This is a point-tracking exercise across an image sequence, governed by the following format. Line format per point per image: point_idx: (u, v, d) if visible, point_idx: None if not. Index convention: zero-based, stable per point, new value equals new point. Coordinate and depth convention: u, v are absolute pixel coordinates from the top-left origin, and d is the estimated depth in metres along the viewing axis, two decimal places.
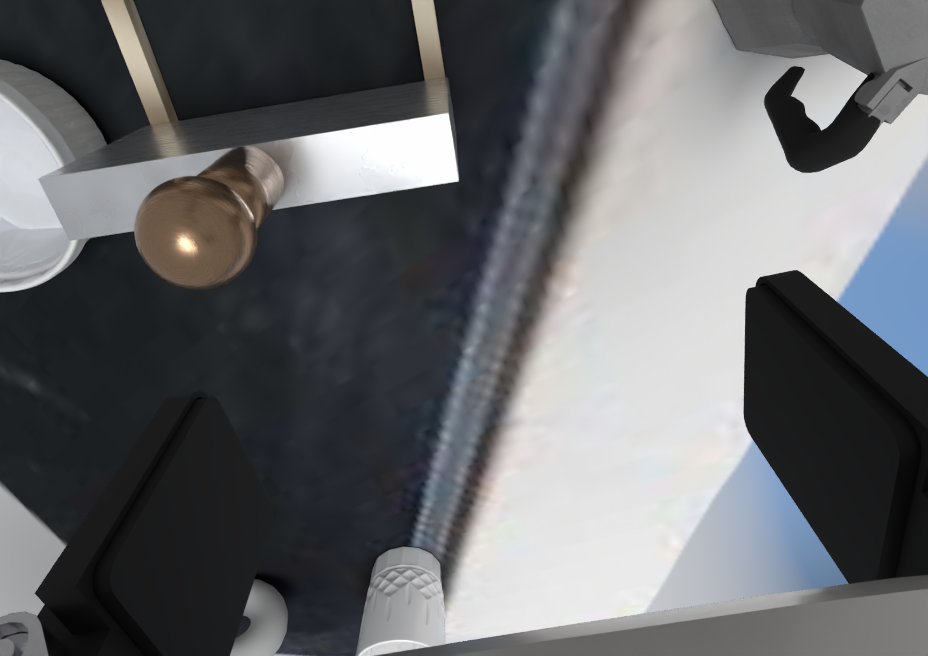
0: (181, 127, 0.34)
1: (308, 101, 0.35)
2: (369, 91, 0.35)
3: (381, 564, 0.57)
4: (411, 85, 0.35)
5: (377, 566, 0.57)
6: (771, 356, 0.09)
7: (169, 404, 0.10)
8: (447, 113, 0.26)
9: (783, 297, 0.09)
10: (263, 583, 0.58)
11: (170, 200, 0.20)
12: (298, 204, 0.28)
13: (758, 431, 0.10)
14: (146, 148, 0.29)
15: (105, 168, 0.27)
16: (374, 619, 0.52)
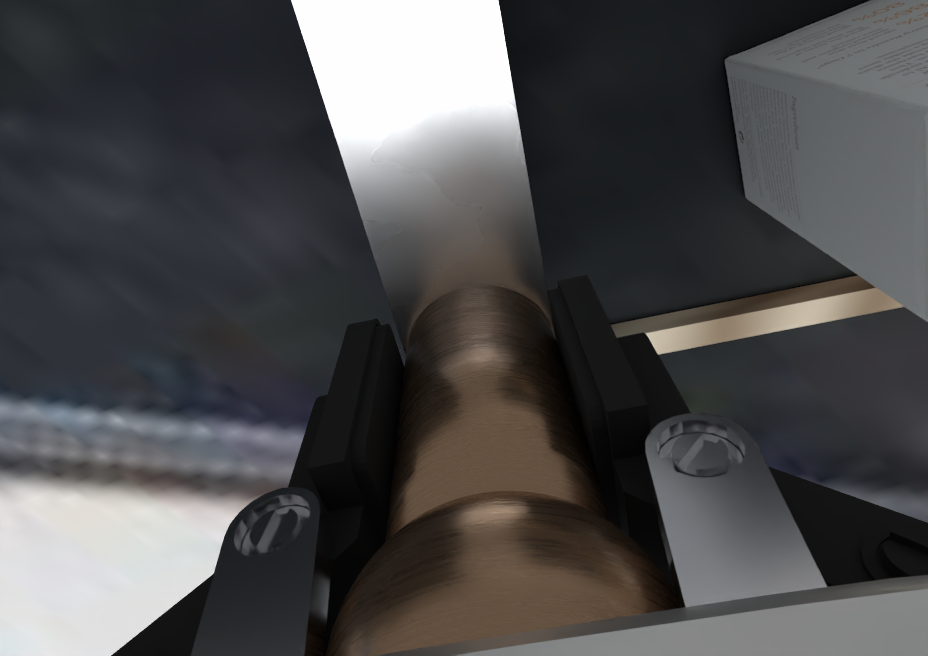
0: None
1: None
2: None
3: None
4: None
5: None
6: (561, 349, 0.10)
7: (354, 329, 0.11)
8: None
9: (565, 298, 0.10)
10: None
11: None
12: None
13: None
14: None
15: None
16: None
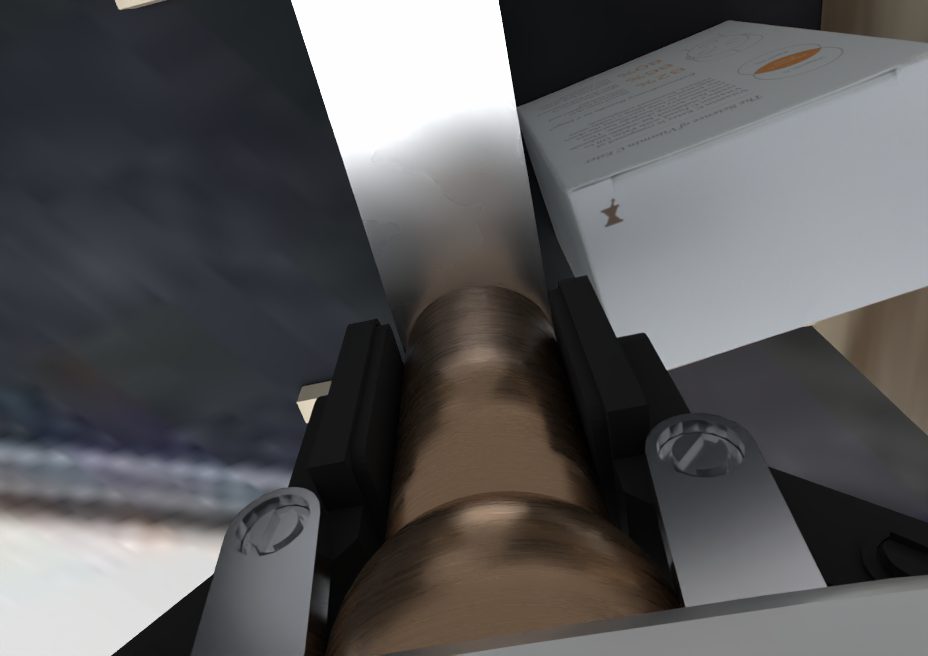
0: None
1: None
2: None
3: None
4: None
5: None
6: (561, 349, 0.10)
7: (354, 329, 0.11)
8: None
9: (565, 298, 0.10)
10: None
11: None
12: None
13: None
14: None
15: None
16: None
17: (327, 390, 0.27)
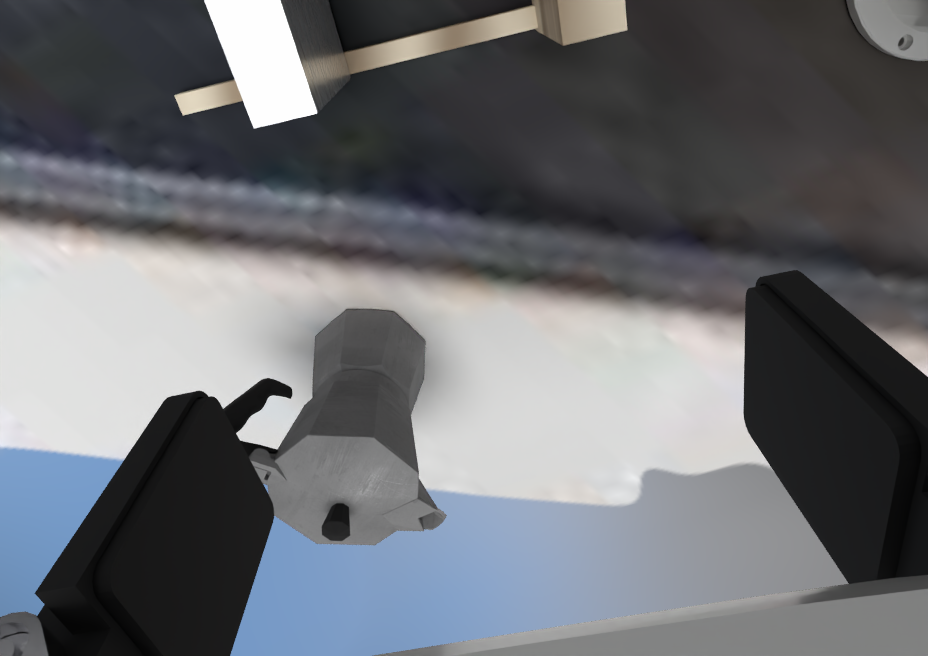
0: None
1: None
2: None
3: None
4: (337, 41, 0.34)
5: None
6: (771, 356, 0.09)
7: (169, 404, 0.10)
8: (316, 112, 0.27)
9: (783, 297, 0.09)
10: None
11: None
12: None
13: (757, 431, 0.10)
14: None
15: None
16: None
17: (197, 89, 0.37)
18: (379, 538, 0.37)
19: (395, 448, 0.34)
